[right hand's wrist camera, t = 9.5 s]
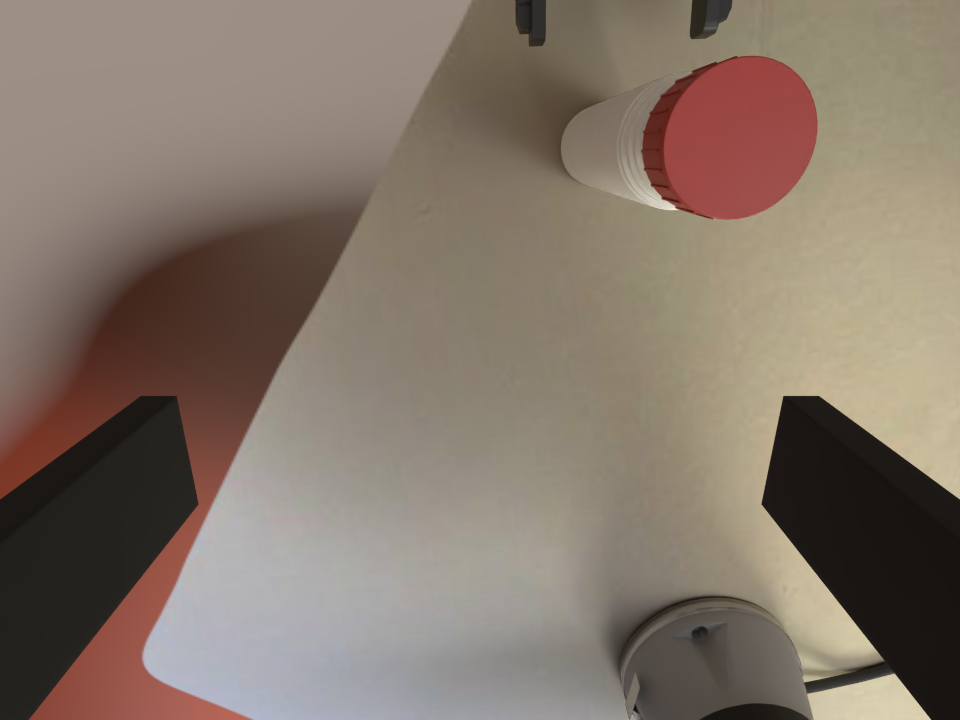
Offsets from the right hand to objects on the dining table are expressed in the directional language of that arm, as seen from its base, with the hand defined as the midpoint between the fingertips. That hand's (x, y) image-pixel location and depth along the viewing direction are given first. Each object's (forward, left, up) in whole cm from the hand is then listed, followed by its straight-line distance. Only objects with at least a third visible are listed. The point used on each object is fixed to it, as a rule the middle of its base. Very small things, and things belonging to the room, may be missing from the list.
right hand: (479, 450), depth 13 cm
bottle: (-4, -9, -28) cm, 30 cm away
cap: (-4, -9, -7) cm, 12 cm away
